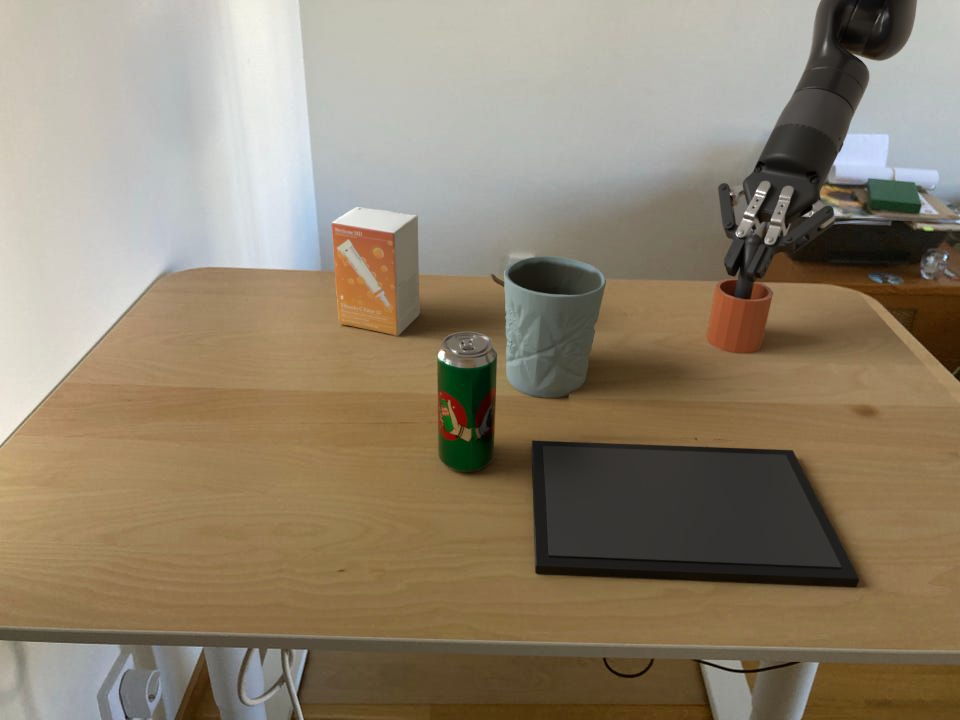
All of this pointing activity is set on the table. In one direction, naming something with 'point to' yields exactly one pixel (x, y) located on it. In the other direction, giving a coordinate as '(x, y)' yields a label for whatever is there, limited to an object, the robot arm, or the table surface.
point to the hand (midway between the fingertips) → (740, 275)
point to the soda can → (466, 401)
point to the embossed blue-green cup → (550, 323)
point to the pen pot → (738, 317)
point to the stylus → (749, 252)
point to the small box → (376, 269)
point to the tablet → (681, 515)
